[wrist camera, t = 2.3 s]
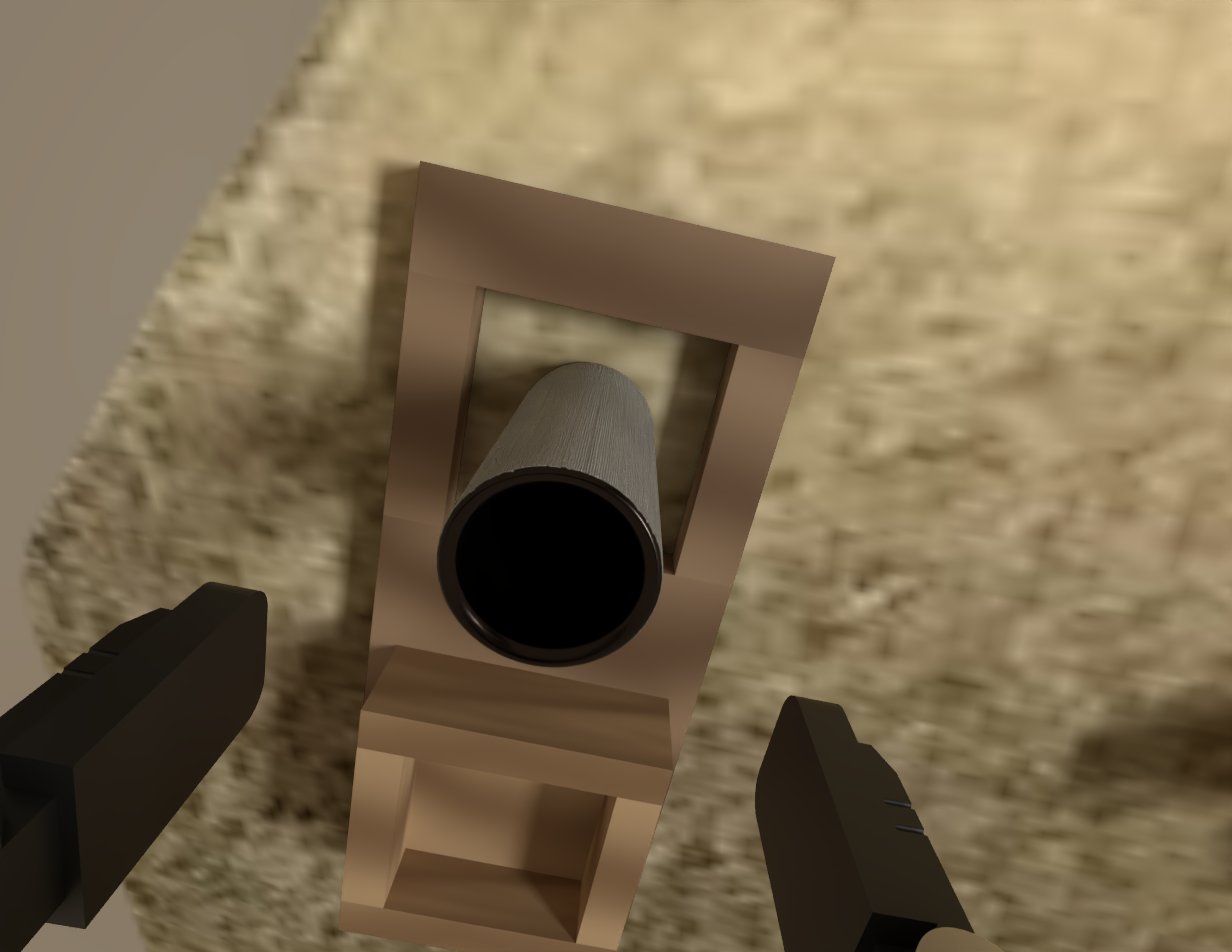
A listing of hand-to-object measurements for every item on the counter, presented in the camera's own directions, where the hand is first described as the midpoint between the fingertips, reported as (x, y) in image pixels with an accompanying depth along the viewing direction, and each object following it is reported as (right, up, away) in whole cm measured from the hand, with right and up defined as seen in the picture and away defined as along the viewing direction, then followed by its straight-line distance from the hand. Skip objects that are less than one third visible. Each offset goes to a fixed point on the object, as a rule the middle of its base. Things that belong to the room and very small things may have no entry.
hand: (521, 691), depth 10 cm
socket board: (-1, -1, +15) cm, 15 cm away
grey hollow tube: (0, +5, +13) cm, 14 cm away
